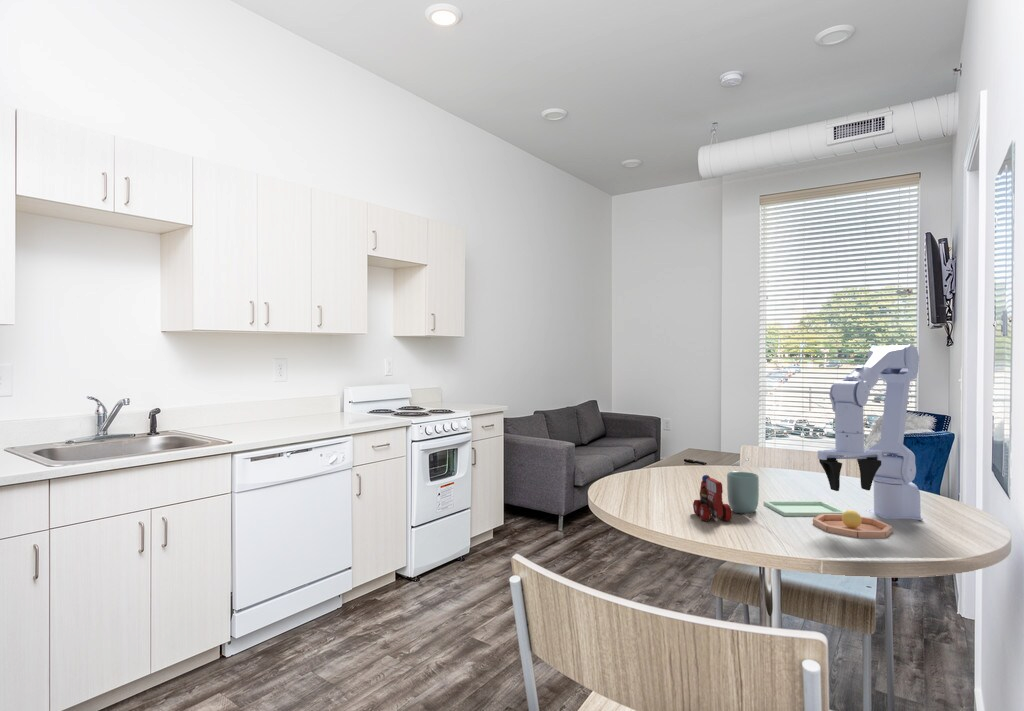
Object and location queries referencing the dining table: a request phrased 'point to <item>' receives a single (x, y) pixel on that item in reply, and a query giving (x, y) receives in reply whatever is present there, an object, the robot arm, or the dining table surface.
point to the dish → (865, 530)
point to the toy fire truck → (711, 501)
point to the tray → (802, 508)
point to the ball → (851, 519)
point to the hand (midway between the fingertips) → (850, 489)
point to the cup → (743, 491)
